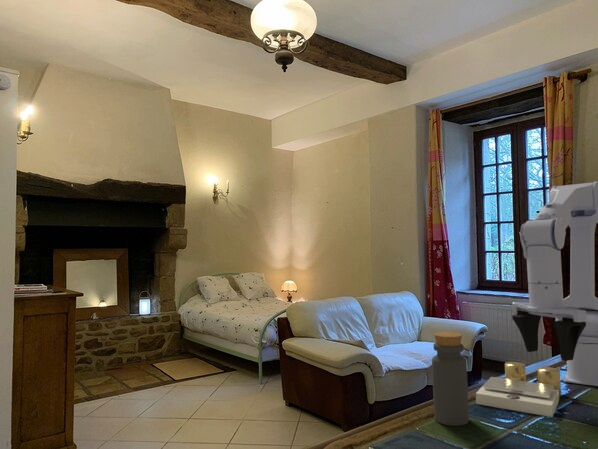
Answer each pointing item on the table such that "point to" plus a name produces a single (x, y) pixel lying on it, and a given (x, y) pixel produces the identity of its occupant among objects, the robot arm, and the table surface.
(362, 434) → the table surface
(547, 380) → the cylinder
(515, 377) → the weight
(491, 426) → the table surface
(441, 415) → the bottle
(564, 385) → the table surface
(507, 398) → the scale
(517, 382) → the scale pan
